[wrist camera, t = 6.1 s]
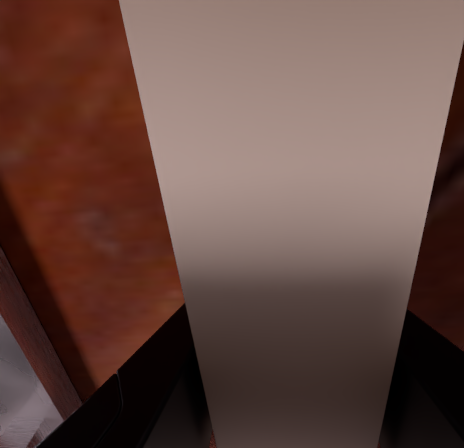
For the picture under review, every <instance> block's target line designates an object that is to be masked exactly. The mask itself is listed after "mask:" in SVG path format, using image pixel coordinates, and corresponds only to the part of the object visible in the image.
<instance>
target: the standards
mask: <svg viewBox="0 0 464 448" xmlns="http://www.w3.org/2000/svg"><path fill="white" fill-rule="evenodd" d="M81 405H82V402H81V400H80V398H79V396H78V394H77V392H76V390H75V388H74V387H73V385H72V383H71V381H70V379H69V377H68V375H67V373H66V371H65V369H64V367H63V365H62V364H61V362H60V360H59V358H58V356H57V354H56V352H55V350H54V348H53V346H52V344H51V342H50V341H49V339H48V337H47V335H46V333H45V331H44V329H43V327H42V325H41V323H40V321H39V320H38V318H37V316H36V314H35V312H34V310H33V308H32V306H31V304H30V302H29V300H28V298H27V297H26V295H25V293H24V291H23V289H22V287H21V285H20V283H19V281H18V279H17V277H16V275H15V274H14V272H13V270H12V268H11V266H10V264H9V262H8V260H7V258H6V256H5V254H4V252H3V251H2V249H1V247H0V436H1V437H0V448H33V447H34V446H36V445H37V444H38V443H39V442H40V441H42V440H43V439H44V438H45V437H46V436H47V435H49V434H50V433H51V432H52V431H53V430H54V429H55V428H56V427H58V426H59V425H60V424H61V423H62V422H63V421H64V420H65V419H67V418H68V417H69V416H70V415H71V414H72V413H73V412H75V411H76V410H77V409H78V408H79V407H80V406H81Z"/></svg>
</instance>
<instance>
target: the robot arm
mask: <svg viewBox="0 0 464 448" xmlns="http://www.w3.org/2000/svg"><path fill="white" fill-rule="evenodd" d="M116 373H117V374H113V375H112V376H111V377H110V378H109V379H108V380H107V381H106V382H105V383H104V384H103V385H102V386H101V387H100V388H99V389H98V390H97V391H96V392H95V393H94V394H93V395H91V396H90V397H89V398H88V399H87V400H86V401H85V402H84V403H83V404H82V405H81V406H80V407H79V408H78V409H77V410H76V411H75V412H73V413H72V414H71V415H70V416H69V417H68V418H67V419H65V420H64V421H63V422H62V423H61V424H60V425H59V426H58V427H56V428H55V429H54V430H53V431H52V432H51V433H50V434H49V435H47V436H46V437H45V438H44V439H43V440H42V441H40V442H39V443H38V444H37V445H36V446H34V447H33V448H209V444H210V439H211V434H212V423H211V418H210V414H209V409H208V405H207V400H206V396H205V391H204V387H203V382H202V377H201V373H200V368H199V364H198V359H197V355H196V350H195V345H194V341H193V336H192V332H191V327H190V323H189V318H188V313H187V309H186V304H185V303H184V304H183V305H182V306H181V307H180V308H179V309H178V310H177V311H176V312H175V313H174V314H173V315H172V316H171V317H170V318H169V319H168V320H167V321H166V322H165V323H164V324H163V325H162V326H161V327H160V328H159V329H158V330H157V331H156V332H155V333H154V334H153V335H152V336H151V337H150V338H149V339H148V340H147V341H146V342H145V343H144V344H143V345H142V346H141V347H140V348H139V349H138V350H137V351H136V352H135V353H134V354H133V355H132V356H131V357H130V358H129V359H128V360H127V361H126V362H125V363H124V364H123V365H122V366H121V367H120V368H119V369H118V370H117V372H116ZM379 443H380V446H381V448H464V351H462V350H461V349H460V348H458V347H457V346H456V345H454V344H453V343H452V342H450V341H449V340H448V339H446V338H445V337H444V336H442V335H441V334H440V333H438V332H437V331H436V330H434V329H433V328H432V327H430V326H429V325H428V324H426V323H425V322H424V321H422V320H421V319H420V318H418V317H417V316H416V315H414V314H413V313H412V312H410V311H409V310H408V309H406V314H405V319H404V323H403V328H402V333H401V337H400V342H399V347H398V351H397V356H396V361H395V365H394V370H393V375H392V380H391V384H390V389H389V394H388V398H387V403H386V408H385V412H384V417H383V422H382V427H381V431H380V436H379Z"/></svg>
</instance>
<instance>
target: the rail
mask: <svg viewBox="0 0 464 448" xmlns="http://www.w3.org/2000/svg"><path fill="white" fill-rule="evenodd" d="M119 3H120V7H121V12H122V17H123V21H124V26H125V30H126V35H127V39H128V44H129V49H130V53H131V58H132V62H133V67H134V71H135V76H136V80H137V85H138V90H139V94H140V99H141V103H142V108H143V112H144V117H145V122H146V126H147V131H148V135H149V140H150V144H151V149H152V154H153V158H154V163H155V167H156V172H157V176H158V181H159V186H160V190H161V195H162V199H163V204H164V208H165V213H166V218H167V222H168V227H169V231H170V236H171V240H172V245H173V249H174V254H175V259H176V263H177V268H178V272H179V277H180V281H181V286H182V291H183V295H184V300H185V304H186V309H187V313H188V318H189V323H190V327H191V332H192V336H193V341H194V345H195V350H196V355H197V359H198V364H199V368H200V373H201V377H202V382H203V387H204V391H205V396H206V400H207V405H208V409H209V414H210V418H211V423H212V428H213V432H214V437H215V441H216V446H217V448H377V445H378V441H379V436H380V431H381V427H382V422H383V417H384V412H385V408H386V403H387V398H388V394H389V389H390V384H391V380H392V375H393V370H394V365H395V361H396V356H397V351H398V347H399V342H400V337H401V333H402V328H403V323H404V319H405V314H406V309H407V304H408V300H409V295H410V290H411V286H412V281H413V276H414V272H415V267H416V262H417V257H418V253H419V248H420V243H421V239H422V234H423V229H424V225H425V220H426V215H427V211H428V206H429V201H430V196H431V192H432V187H433V182H434V178H435V173H436V168H437V164H438V159H439V154H440V149H441V145H442V140H443V135H444V131H445V126H446V121H447V117H448V112H449V107H450V102H451V98H452V93H453V88H454V84H455V79H456V74H457V70H458V65H459V60H460V56H461V51H462V46H463V41H464V0H119Z"/></svg>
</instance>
